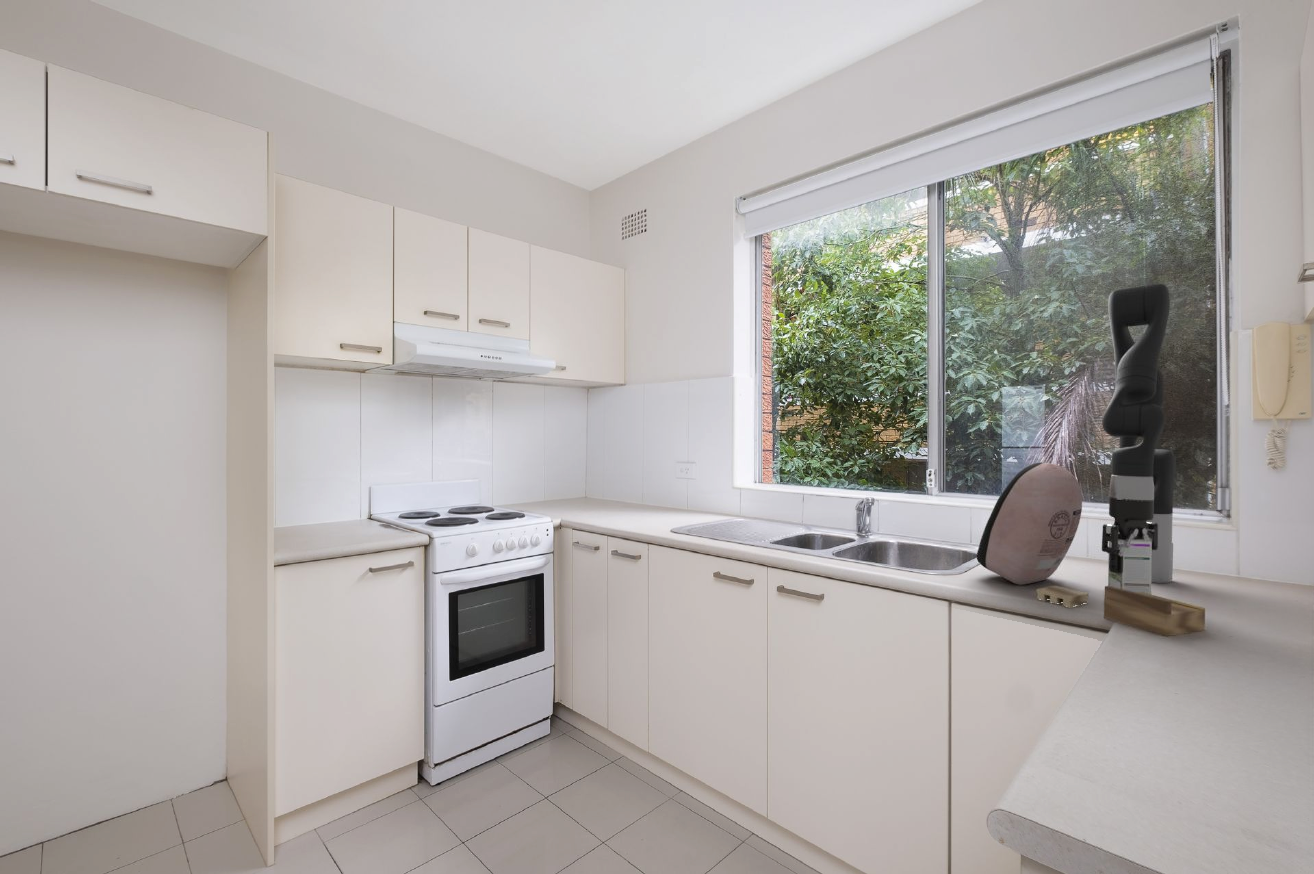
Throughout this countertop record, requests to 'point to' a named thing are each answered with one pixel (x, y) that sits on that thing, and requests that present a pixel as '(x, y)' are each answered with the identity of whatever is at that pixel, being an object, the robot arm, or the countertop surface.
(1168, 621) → the dock
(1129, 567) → the syrup box
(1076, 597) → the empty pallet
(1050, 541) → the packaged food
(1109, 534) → the robot arm
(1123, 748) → the countertop surface
